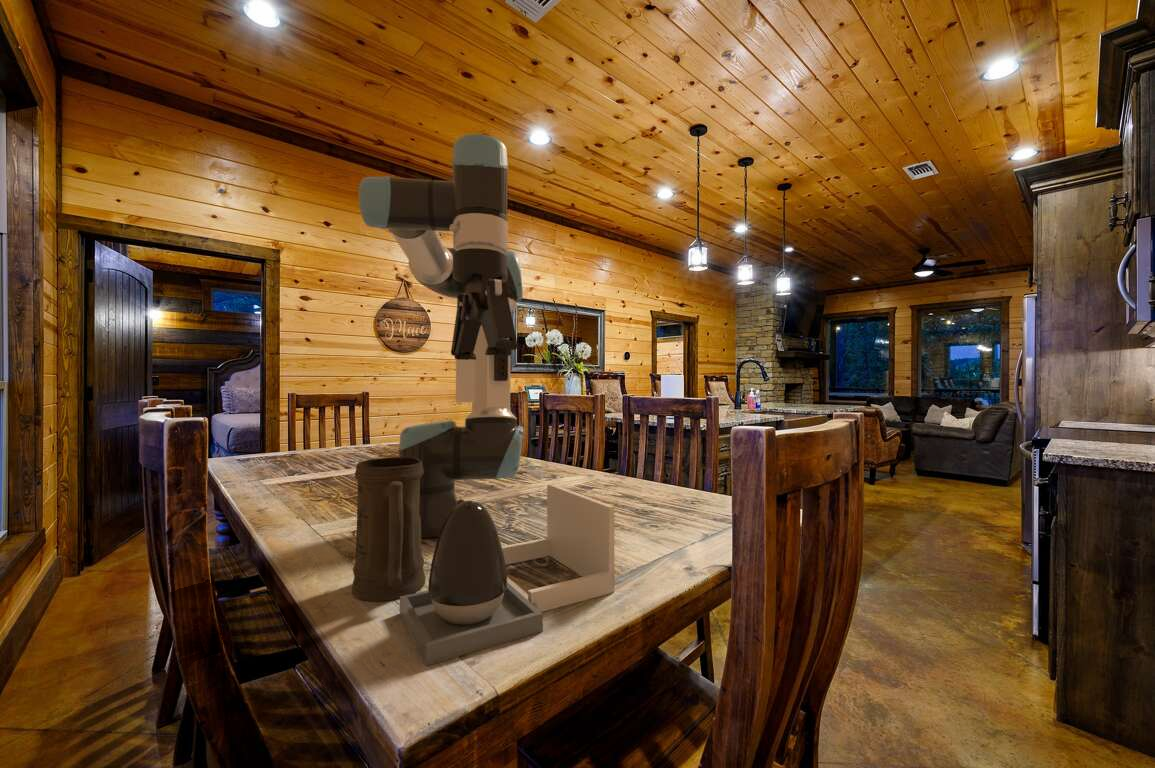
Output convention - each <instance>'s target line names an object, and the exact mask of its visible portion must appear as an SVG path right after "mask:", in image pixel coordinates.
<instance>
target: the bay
mask: <svg viewBox="0 0 1155 768" xmlns="http://www.w3.org/2000/svg"><path fill="white" fill-rule="evenodd" d="M546 486H547V487H546V488H547V489H546V490H547V492H546V493H547V496H546V497H547V498H546V499H547V503H546V505H547V507H546V511H547V512H546V517H547V519H546V521H547V522H546V525H547V526H546V528H547V529H546V530H547V532H546V533H547V534H546V536H547V537H546V538H541V539H535V540H529V541H524V542H518V543H512V544H509V545H507V544H506V545H501V546H502V550H503V554H504V559H505V565H506V566H507V565H511V564H517V563H522V562H526V561H530V560H531V561H532V560H535V559H540V558H547V557H551V558H552V559H554V560H556V561H557V562H558V563H561V564H562V565H564V566H565V567H567V568H568V569H570V570H572V571H573V572H575V573H576V574H577V575H579V576H580V577H577V578H574V579H573V578H572V579H569V580H568V579H567V580H565V581H561V582H557V583H552V584H548V585H545V586H541V587H536V588H532V589H528V590H527V592H526V591H524V590H523V589H522V588H521V587H520V586H519V585H518V584H516V582H514V581H513V580H512V579H510V578H509V577H508V576H507V582H508V583H509V584H510V585H511V586H512V587H513V588H514V589H516V590H517V591H518V592H519V593H520V594H521V595H522V596H524V597H525V598H526V599H527V600H528V601H529V602H530V603H531V604H533V605H534V606H535V607H536V608H537V609H538V610H539V611H541V612H542V613H543V612H546V611H550V610H554V609H558V608H561V607H565V606H569V605H572V604H576V603H577V604H578V603H581V602H584V601H587V600H590V599H591V600H592V599H594V598H597V597H601V596H605V595H609V594H614V593H615V505H611V504H609V503H605V502H603V501H600V500H598V499H594V498H592V497H590V496H586V495H583V494H581V493H578V492H575V491H573V490H570V489H567V488H565V487H562V486H559V485H556V484H553V483H548V484H546Z"/></svg>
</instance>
